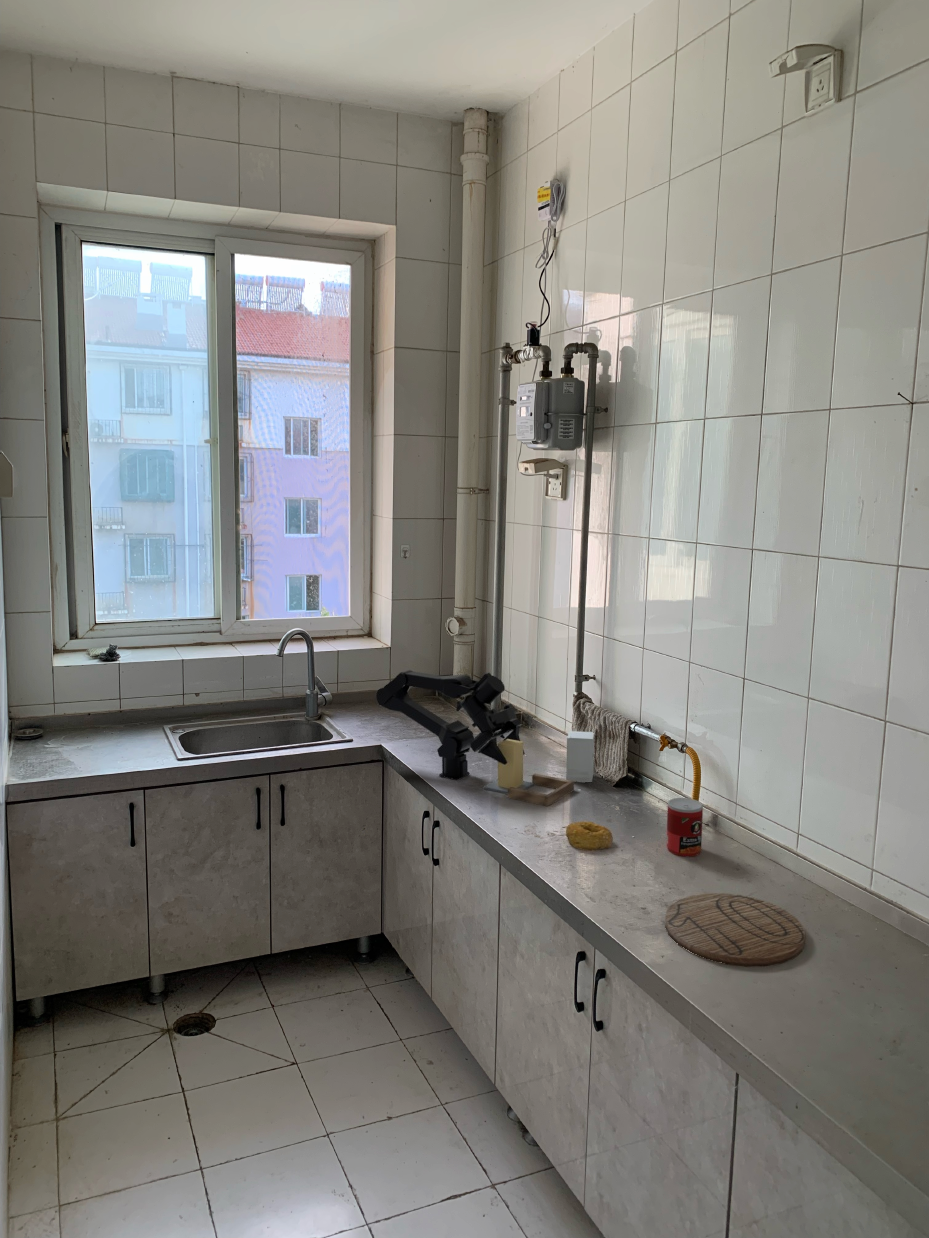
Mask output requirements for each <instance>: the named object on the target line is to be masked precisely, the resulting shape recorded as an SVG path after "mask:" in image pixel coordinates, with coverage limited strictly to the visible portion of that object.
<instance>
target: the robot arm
mask: <svg viewBox="0 0 929 1238" xmlns="http://www.w3.org/2000/svg"><path fill="white" fill-rule="evenodd" d="M411 687H412V688H418V689H424V690H430V691H435V692H439V693H441V694H442V695H443V696H446V697H449V698H450V699H453V700H456V699H459V698H462V697H464V696H465V697H464V699H460V700H458V701H456V709H455V710H456V712H460V711H462V710H464V711H465V713H466V714H467V715H468V717H469V718H470V719H471V721H472V722H473V723H472V724H471V726H472V727H473V728H476V727H477V729H478V730H479V731H480V732H479V733H478V734H477V735H476V736H474V732H473V731H472V730H471V728H470V726H468V725H465V724H463V723H462V721H461V720H455V721H453V722H448V721H446V720H444V719H443V718H441V717H440V716H439V715H436V714H435V713H433V712H432V711H430V710H429V709H428V708H426V707H424V706H423V705H421V704H419V703H418V702H416V701H415V700H413V699H412V698H411V696H410V694H409V690H410V689H411ZM505 687H506V686H505V684H504V682H503V680H502V679H499V678H498V677H497V676H495V675H492V674H491V673H490V672H486V673H484V674H483V676H481V678H480V679H479V680H476V679H472V677H471V676H470V675H468V674H454V675H437V674H430V673H425V672H424V673H423V672H420V671H413V670H411V669H409V670H404V671H401V672H398V674H397V675H396V676H395V677H394V678H393V679H392V680H391V681H389V682H388V683H387V684H385V685H384V686H382V687H380V688H379V689H378V690H377V691H376V703H377V704H378V705H379V706H380V707H382V708H384V709H387V710H388V711H392V712H393V711H394V712H398V713H402V714H403V715H404V716H406V717H407V718H409V719H410V720H412V721H414V722H415V723H417V724H418V725H420V726H422V727H423V728H425V729H426V730H427V731H429V732H431V733H432V734H433V735H435V736H437V738H438V739H439V742H440V743H441V745H440V746H439V747H438V748H437V749H436V750H437V753H438V757H439V758H441V773H439V774H438V776H439V777H442V778H445V779H450V780H457V781H458V780H460V779H462V778H464V777H467V776H468V775H470V771H468V767H469V766H468V760H467V754H466V753H469V752H470V749H471V750H472V752H474V753H476V752H477V753H478V754H482V755H484V756H485V757H489V758H491V759H492V760H495V761H496V762H497V763H498V762H500V763H502V764H504V765H506V764H507V760H506V758H505V757H504V755H503V754H502V752H501V751H500V749H499V747H498V741H497V739H498V737H500V738H502V739H503V740H502V741H504V740H506V739H510V740H516V741H521V737H520V735H519V734H520V729H521V726H522V722H521V721H520V720H519V718H517V715H516V714H517V712H518V710H517V708H515V706H514V704H512V703H509V704H506V705H503V709H502V710H499V711H497V710H496V709H494V708H492V709H490V707H489V706H488V705H491V704H493V703H494V702H495V700H496V699H497V698H498V697H500V695H501V694H502V693H504V691H506V688H505ZM471 693H472V694H471ZM469 728H470V729H469ZM525 754H526V753H525V750H524V749H523V756H525Z"/></svg>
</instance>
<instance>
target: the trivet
mask: <svg viewBox="0 0 929 1238" xmlns="http://www.w3.org/2000/svg"><path fill="white" fill-rule="evenodd" d="M664 928H666V929H665V930H666V933H667V932H668V933H667V935H668V937H669V936H670V937H671V938H672V939H673V940H674V941H675V942H676V943H678V945H677V946H679V945H680V946H682V947H684V948H685V949H687V950H689V951H690V952H692V953H694V954H693V955H695V954H697V955H699V956H698V957H700V956H701V957H700V958H702V957H704V958H703V959H705V958H706V959H705V960H707V959H710V960H709V961H711V960H713V961H712V962H715V961H716V963H719V962H722V963H721V964H723V963H725V964H724V965H728V964H729V966H737V967H738V966H739V967H769V966H774V965H779V964H783V963H786V962H788V961H791V960H793V959H796V957H797V956H799V954H801V953H802V952H803V949H804V948H805V947H804V946H805V944H806V933H805V929H804V926H803V925H802V924H801V922H800V921H799V920H798V918H797V917H796V916H795V915H793V914H792V913H790V912H789V911H787V910H786V909H784V908H782V907H780V906H777V905H776V904H774V903H771V902H768V901H767V900H762V899H759V898H757V897H756V898H755V897H752V896H747V895H741V894H735V893H734V894H732V893H721V892H719V893H718V892H717V893H716V892H714V893H700V894H694V895H693V894H692V895H690V896H687V897H684V898H681V899H678V900H676V901H675V902H674V903H672V904H670V905H669V907H668V909H667V910H666V912H665V923H664ZM670 937H669V938H670ZM671 938H670V939H671ZM672 939H671V940H672ZM673 940H672V941H673ZM674 941H673V942H674ZM675 942H674V943H675ZM676 943H675V944H676ZM680 946H679V947H680ZM682 947H681V948H682ZM685 949H684V950H685ZM687 950H686V951H687ZM690 952H689V953H690ZM692 953H691V954H692ZM697 955H696V956H697Z"/></svg>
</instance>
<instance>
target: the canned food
mask: <svg viewBox="0 0 929 1238" xmlns="http://www.w3.org/2000/svg"><path fill="white" fill-rule="evenodd" d="M666 810H667V811H666V812H667V816H666V819H667V820H666V848H667V850H668V852H670V853H671V854H672V855H675V854H676V856H679V855H680V856H679V857H686V856H689V857H695V856H697V854H698V855H699V854H700V852H701V850H702V843H703V842H702V837H703V836H702V835H703V815H704V811H703V810H704V808H703V803H701V802H700V801H698V800H696V799H693V798H688V797H675V798H672V799H669V800H668V802H667V809H666Z"/></svg>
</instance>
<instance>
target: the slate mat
mask: <svg viewBox="0 0 929 1238" xmlns="http://www.w3.org/2000/svg"><path fill="white" fill-rule="evenodd" d="M534 785H535V784H534V783H532V781H531V782H530V781H526V780H523V785H521V786H519V787H517V788H519V789H523V790H528V789H530V788H532V787H533V786H534ZM483 790H487V791H491V792H497V793H501V794H507V795H508V788H504V787H499V786H498V778H497V779H496V780H494V781H492V782H490V783H488V784H486V785H484V786H483Z"/></svg>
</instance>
